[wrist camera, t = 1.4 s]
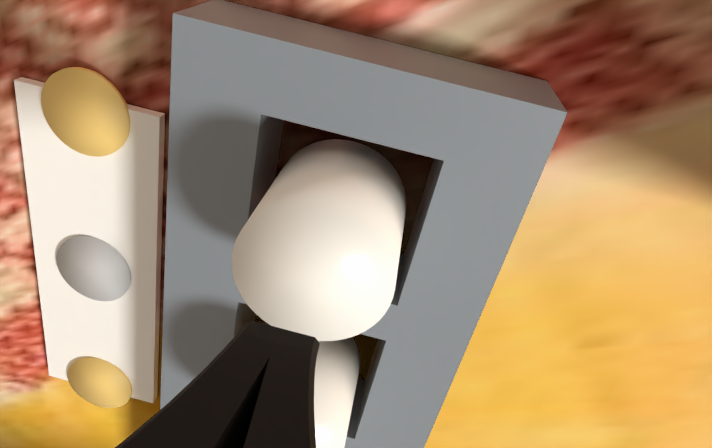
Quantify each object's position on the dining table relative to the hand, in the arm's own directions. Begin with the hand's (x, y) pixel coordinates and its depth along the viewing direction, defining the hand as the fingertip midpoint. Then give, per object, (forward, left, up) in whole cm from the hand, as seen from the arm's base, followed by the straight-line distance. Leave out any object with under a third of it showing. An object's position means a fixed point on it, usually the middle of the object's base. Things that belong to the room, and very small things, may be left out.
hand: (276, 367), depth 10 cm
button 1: (0, 0, -7) cm, 7 cm away
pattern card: (-7, +9, -9) cm, 14 cm away
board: (-7, 0, -9) cm, 11 cm away
